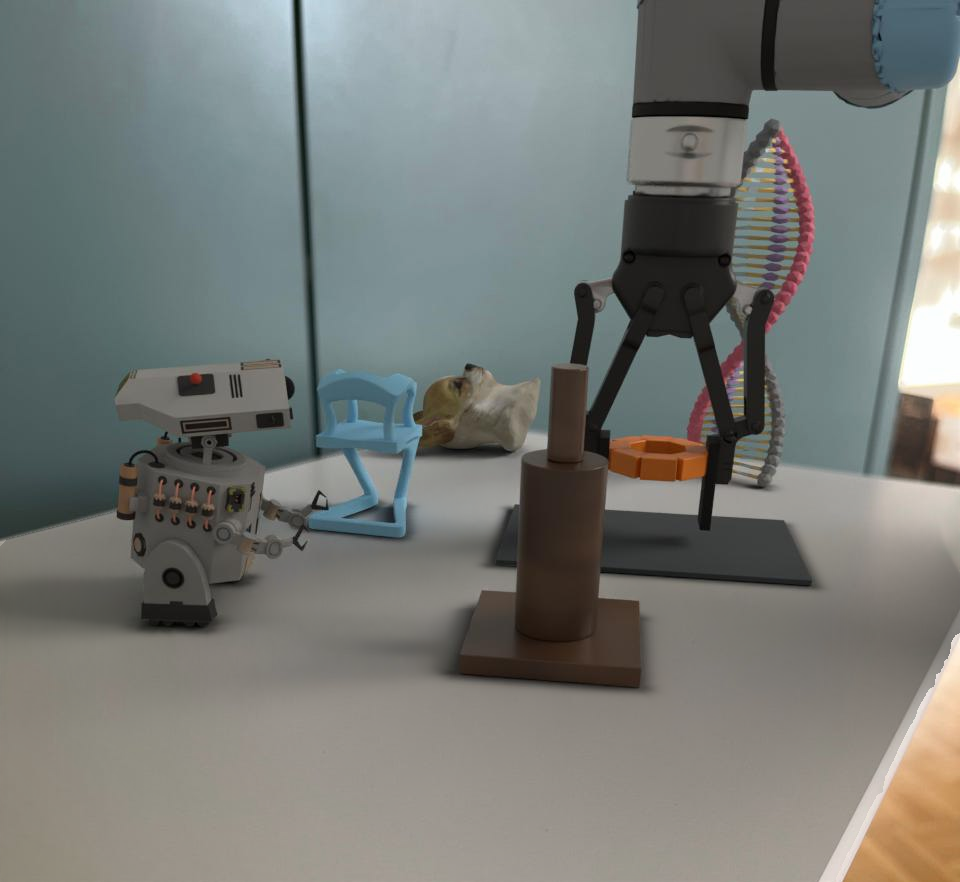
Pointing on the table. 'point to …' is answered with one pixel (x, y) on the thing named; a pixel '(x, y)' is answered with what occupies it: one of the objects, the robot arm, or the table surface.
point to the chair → (368, 445)
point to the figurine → (201, 481)
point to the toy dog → (477, 411)
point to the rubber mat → (689, 547)
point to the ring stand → (558, 567)
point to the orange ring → (657, 458)
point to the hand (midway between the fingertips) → (651, 521)
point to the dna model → (782, 298)
